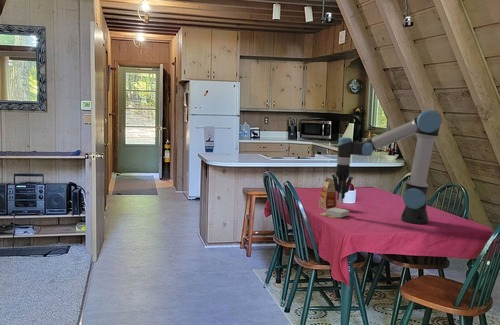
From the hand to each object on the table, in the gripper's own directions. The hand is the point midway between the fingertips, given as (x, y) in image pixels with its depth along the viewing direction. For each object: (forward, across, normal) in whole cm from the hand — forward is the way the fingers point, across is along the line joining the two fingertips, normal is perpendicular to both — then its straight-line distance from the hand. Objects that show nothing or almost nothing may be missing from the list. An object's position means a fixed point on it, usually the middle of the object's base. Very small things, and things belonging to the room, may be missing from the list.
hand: (340, 203), depth 283 cm
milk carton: (+8, +16, -14) cm, 23 cm away
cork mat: (+8, +4, 0) cm, 9 cm away
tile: (+6, -3, 0) cm, 6 cm away
